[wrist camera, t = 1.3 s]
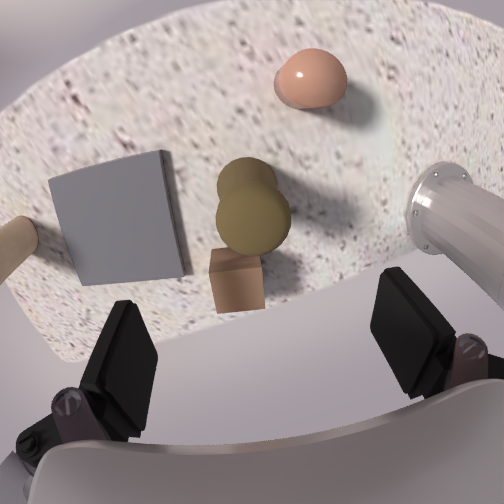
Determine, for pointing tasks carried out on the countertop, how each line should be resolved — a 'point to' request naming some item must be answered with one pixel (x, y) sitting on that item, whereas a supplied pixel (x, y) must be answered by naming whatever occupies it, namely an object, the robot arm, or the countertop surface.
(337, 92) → the peach blob
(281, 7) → the countertop surface
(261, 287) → the walnut block
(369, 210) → the countertop surface
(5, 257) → the candle
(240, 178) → the olive tall rounded piece
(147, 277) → the slate tile
